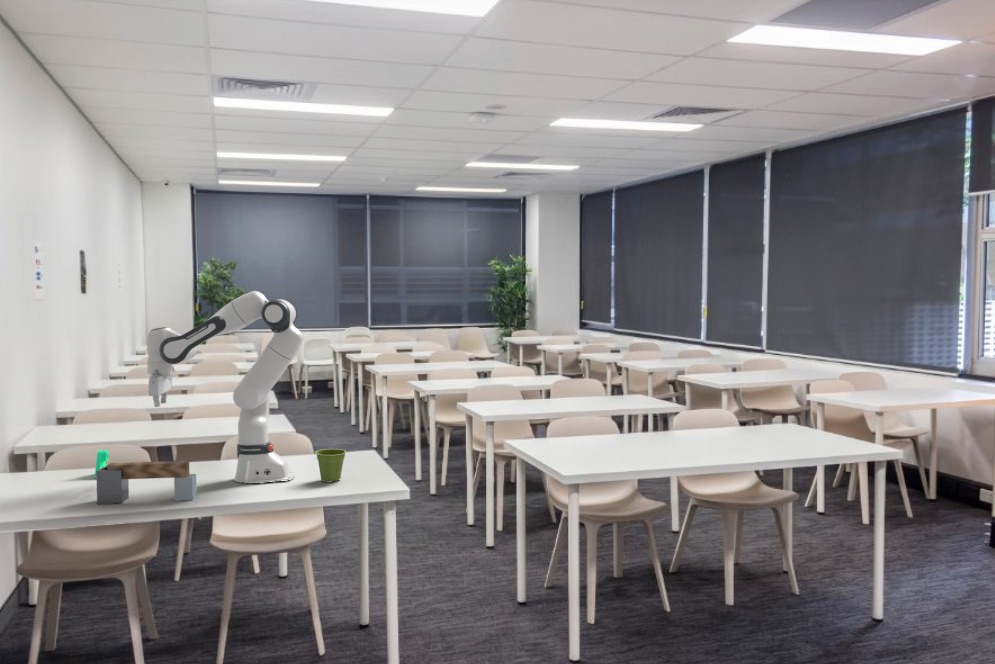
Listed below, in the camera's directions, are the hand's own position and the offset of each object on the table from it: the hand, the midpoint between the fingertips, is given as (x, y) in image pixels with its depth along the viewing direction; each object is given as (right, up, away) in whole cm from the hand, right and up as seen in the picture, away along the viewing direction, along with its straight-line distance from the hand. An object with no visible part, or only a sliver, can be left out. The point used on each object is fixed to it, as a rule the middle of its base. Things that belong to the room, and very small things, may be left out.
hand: (160, 405), depth 301 cm
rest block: (+21, -30, -27) cm, 45 cm away
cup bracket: (-3, -31, -30) cm, 43 cm away
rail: (+9, -23, -29) cm, 38 cm away
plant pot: (+66, -30, 0) cm, 72 cm away
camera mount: (-24, -29, +9) cm, 39 cm away
